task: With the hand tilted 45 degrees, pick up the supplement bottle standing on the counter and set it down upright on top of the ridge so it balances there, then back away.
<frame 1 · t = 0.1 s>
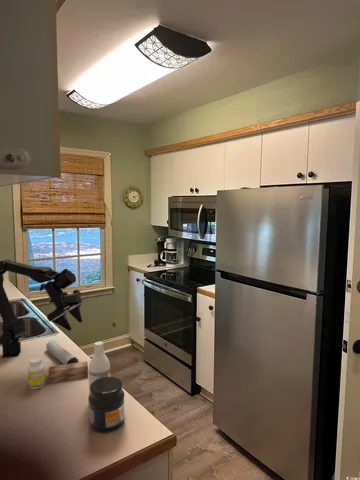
hand: (76, 326, 138), 15 cm above the worktop, tool tilted 35°, fingers open, 9 cm apart
tube: (60, 359, 141), on the worktop
supplement container: (107, 422, 100), on the worktop
ridge: (68, 376, 126), on the worktop
bath foam: (100, 401, 111), on the worktop
supplement bottle: (37, 385, 120), on the worktop
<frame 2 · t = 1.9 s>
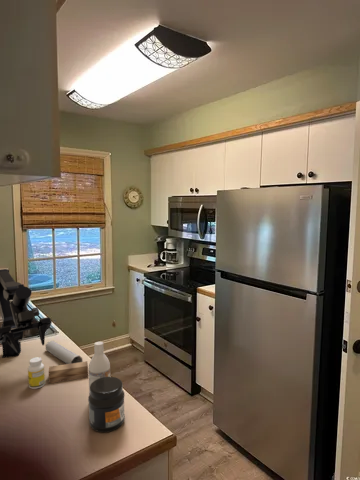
hand: (30, 348, 123), 12 cm above the worktop, tool tilted 45°, fingers open, 9 cm apart
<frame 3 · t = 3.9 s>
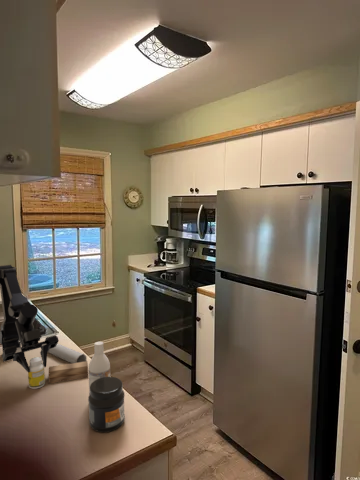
hand: (37, 369, 118), 7 cm above the worktop, tool tilted 45°, fingers closed on supplement bottle, 5 cm apart
supplement bottle: (37, 385, 120), on the worktop, touching gripper
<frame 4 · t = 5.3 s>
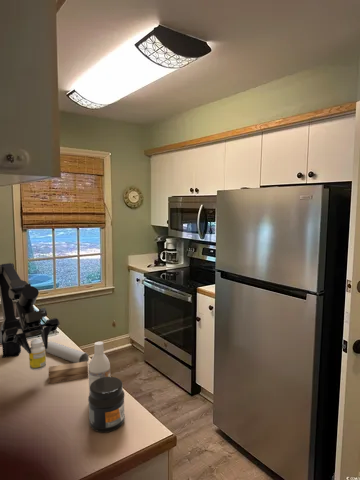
hand: (38, 350, 118), 13 cm above the worktop, tool tilted 45°, fingers closed on supplement bottle, 5 cm apart
supplement bottle: (37, 367, 120), point 6 cm above the worktop, touching gripper
when the fingers open (11 cm above the worktop, at t = 6.6 s): supplement bottle stays where it is, resting on ridge.
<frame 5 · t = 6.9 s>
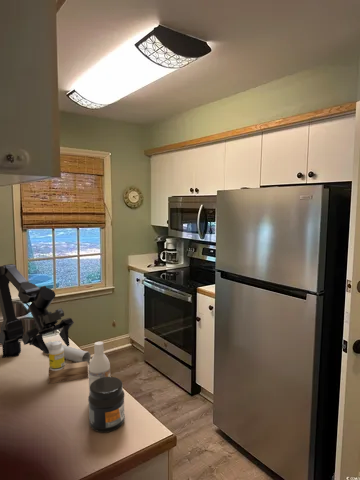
hand: (58, 349, 123), 12 cm above the worktop, tool tilted 45°, fingers open, 8 cm apart
supplement bottle: (57, 368, 125), point 4 cm above the worktop, touching ridge
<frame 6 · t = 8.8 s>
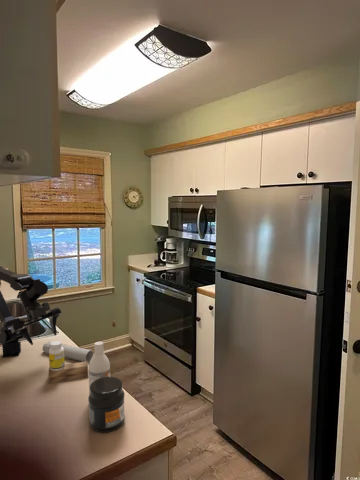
hand: (44, 339, 132), 12 cm above the worktop, tool tilted 30°, fingers open, 9 cm apart
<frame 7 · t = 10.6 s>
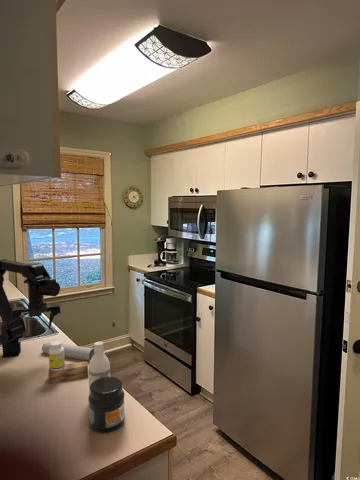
hand: (37, 330, 138), 13 cm above the worktop, tool pointing down, fingers open, 9 cm apart
at the end: supplement bottle inside the target area on the ridge (4.1 cm from its centre), point 3.8 cm above the ridge's base; supplement bottle tilted 0°; supplement bottle touching ridge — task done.
